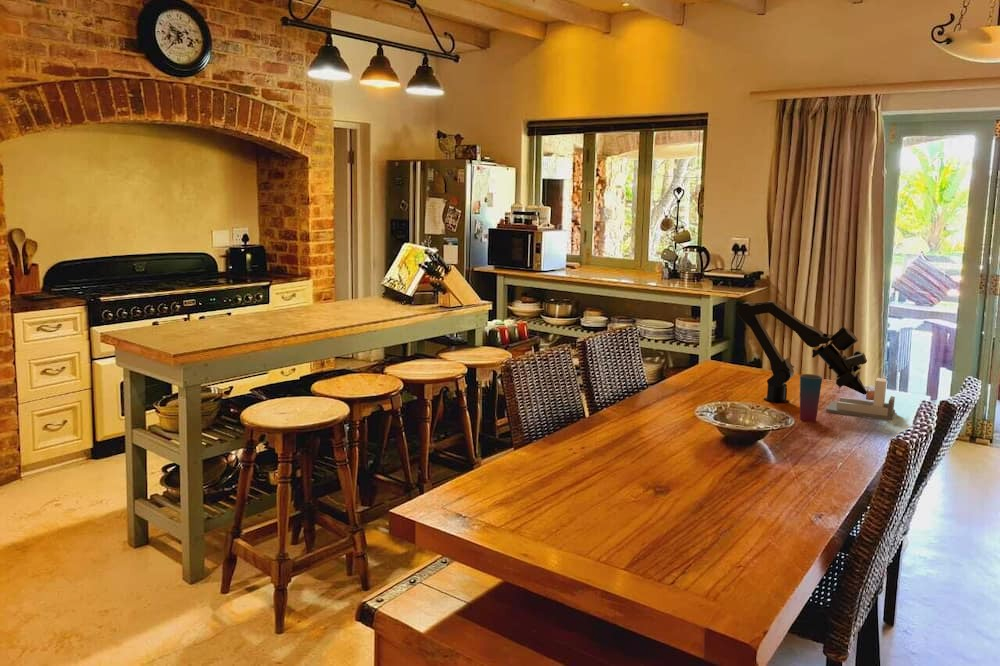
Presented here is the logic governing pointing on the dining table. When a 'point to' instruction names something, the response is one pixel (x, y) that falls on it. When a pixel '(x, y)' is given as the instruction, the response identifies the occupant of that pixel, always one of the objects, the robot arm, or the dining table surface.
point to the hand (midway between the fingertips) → (865, 393)
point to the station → (863, 408)
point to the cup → (809, 396)
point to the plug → (877, 392)
